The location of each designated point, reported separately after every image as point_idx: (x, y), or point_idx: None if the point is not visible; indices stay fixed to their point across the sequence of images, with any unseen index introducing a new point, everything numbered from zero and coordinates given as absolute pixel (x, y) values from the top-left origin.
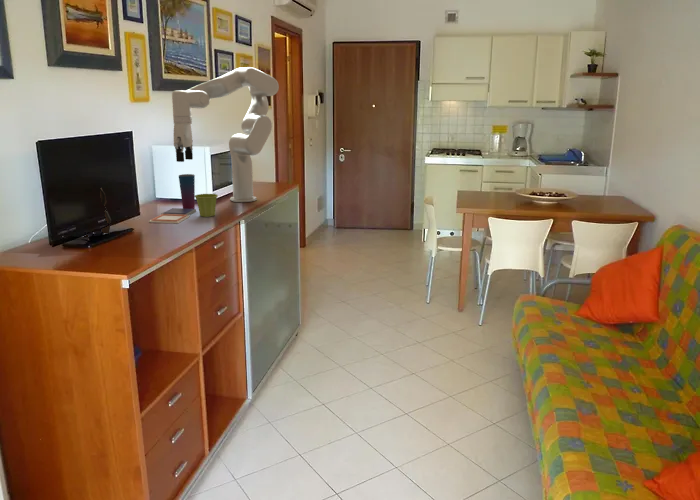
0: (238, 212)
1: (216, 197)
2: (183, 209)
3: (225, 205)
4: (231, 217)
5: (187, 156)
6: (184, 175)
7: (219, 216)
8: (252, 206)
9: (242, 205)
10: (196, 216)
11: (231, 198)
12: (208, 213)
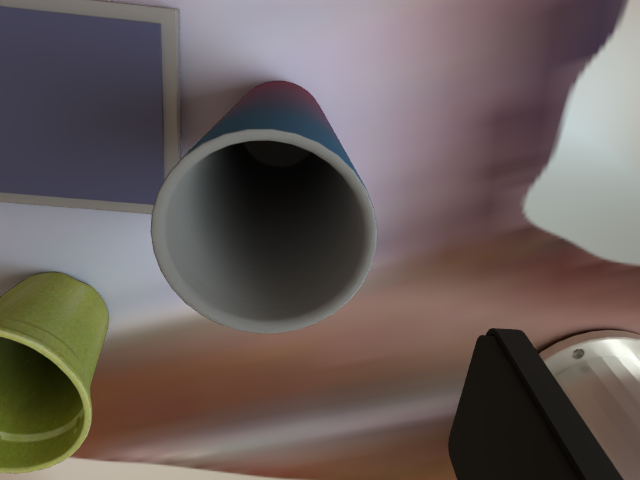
0: (195, 441)
1: (15, 457)
2: (122, 135)
3: (409, 337)
4: None
5: (491, 418)
6: (347, 182)
7: None
8: (375, 471)
9: (407, 423)
10: (20, 254)
11: (582, 349)
12: (7, 343)
